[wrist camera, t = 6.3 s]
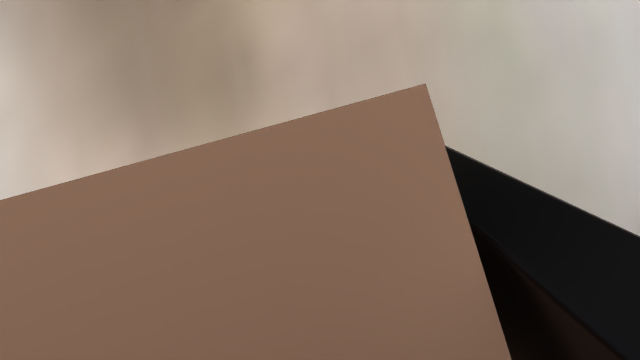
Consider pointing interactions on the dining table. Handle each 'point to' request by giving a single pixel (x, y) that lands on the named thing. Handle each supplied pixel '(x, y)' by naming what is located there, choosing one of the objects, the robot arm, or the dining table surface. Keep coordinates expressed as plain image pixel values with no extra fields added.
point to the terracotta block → (257, 250)
